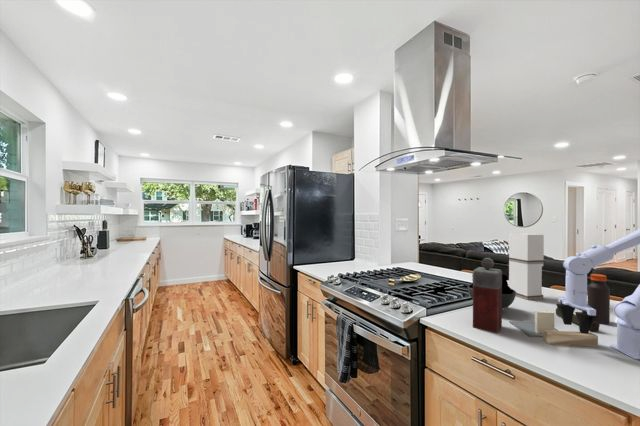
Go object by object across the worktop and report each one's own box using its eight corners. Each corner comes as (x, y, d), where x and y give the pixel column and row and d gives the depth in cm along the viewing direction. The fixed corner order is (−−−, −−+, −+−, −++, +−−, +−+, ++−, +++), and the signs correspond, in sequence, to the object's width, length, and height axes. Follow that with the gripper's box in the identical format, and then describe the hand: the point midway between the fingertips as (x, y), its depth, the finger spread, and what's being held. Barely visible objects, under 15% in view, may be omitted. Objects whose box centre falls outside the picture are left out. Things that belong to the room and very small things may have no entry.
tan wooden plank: (597, 347, 99) (597, 335, 99) (548, 344, 100) (548, 333, 100) (590, 343, 102) (590, 332, 102) (542, 341, 103) (542, 330, 103)
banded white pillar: (543, 298, 154) (543, 234, 154) (527, 300, 152) (527, 234, 152) (524, 293, 165) (524, 233, 165) (509, 294, 163) (509, 233, 163)
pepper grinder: (502, 324, 117) (503, 257, 118) (498, 333, 109) (498, 260, 109) (478, 319, 123) (478, 255, 123) (472, 327, 115) (472, 258, 115)
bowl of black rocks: (521, 310, 136) (521, 270, 136) (508, 320, 122) (509, 276, 122) (476, 300, 151) (476, 265, 151) (460, 308, 137) (461, 269, 137)
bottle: (614, 325, 118) (614, 277, 118) (595, 323, 119) (595, 276, 119) (601, 319, 124) (601, 273, 125) (583, 318, 126) (583, 273, 126)
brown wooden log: (600, 332, 111) (600, 320, 111) (589, 332, 111) (589, 320, 111) (562, 315, 130) (562, 305, 130) (553, 315, 130) (553, 305, 130)
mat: (570, 338, 105) (570, 337, 105) (529, 336, 106) (529, 334, 106) (545, 324, 118) (545, 322, 118) (509, 322, 120) (509, 320, 120)
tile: (554, 334, 107) (554, 312, 107) (537, 333, 108) (537, 312, 108) (551, 332, 109) (551, 311, 109) (534, 331, 110) (534, 310, 110)
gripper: (549, 284, 108) (549, 320, 108) (579, 295, 94) (579, 336, 94) (570, 285, 108) (569, 321, 108) (603, 296, 93) (602, 338, 93)
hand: (575, 328), depth 101 cm, fingers open, 7 cm apart
